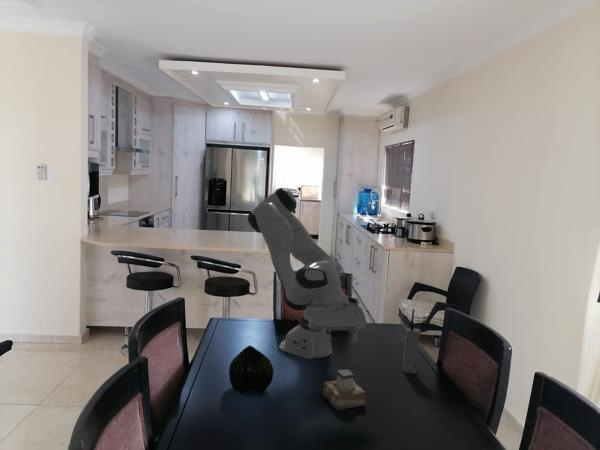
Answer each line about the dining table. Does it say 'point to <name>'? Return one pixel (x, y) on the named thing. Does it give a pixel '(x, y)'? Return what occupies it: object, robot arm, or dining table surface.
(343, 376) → the pale rectangular box
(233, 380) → the squash
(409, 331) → the vintage mobile phone
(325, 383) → the box
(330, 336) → the robot arm
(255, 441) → the dining table surface
